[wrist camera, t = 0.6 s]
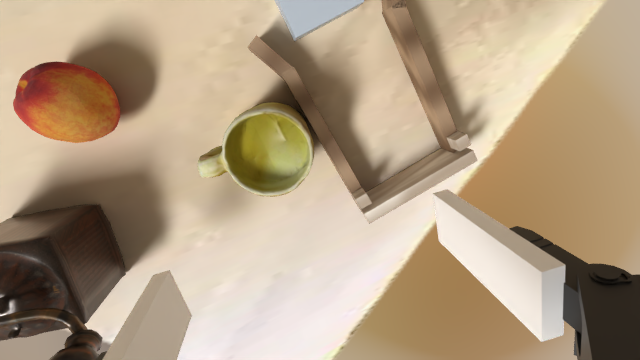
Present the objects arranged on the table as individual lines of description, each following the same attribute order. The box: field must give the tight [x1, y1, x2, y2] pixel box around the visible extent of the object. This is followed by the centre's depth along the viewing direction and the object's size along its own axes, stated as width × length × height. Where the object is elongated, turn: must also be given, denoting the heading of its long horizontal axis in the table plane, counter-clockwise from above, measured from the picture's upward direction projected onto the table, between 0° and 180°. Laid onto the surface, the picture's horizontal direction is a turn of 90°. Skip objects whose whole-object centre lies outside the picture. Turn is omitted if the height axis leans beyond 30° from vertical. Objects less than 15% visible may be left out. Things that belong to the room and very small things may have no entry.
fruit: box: [13, 62, 120, 143], centre depth 31 cm, size 8×8×8 cm
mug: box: [198, 102, 314, 197], centre depth 35 cm, size 12×10×10 cm
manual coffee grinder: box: [0, 205, 126, 360], centre depth 31 cm, size 16×11×18 cm
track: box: [248, 0, 477, 224], centre depth 36 cm, size 24×18×5 cm
